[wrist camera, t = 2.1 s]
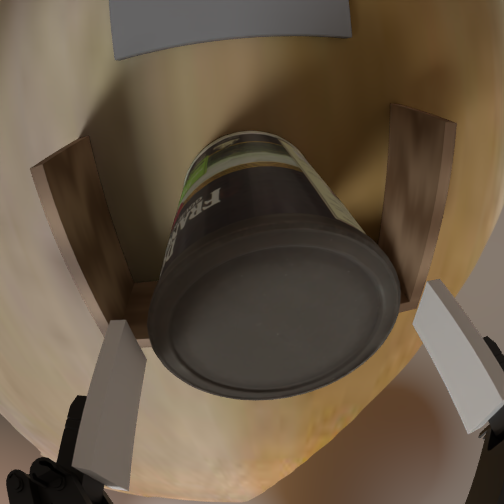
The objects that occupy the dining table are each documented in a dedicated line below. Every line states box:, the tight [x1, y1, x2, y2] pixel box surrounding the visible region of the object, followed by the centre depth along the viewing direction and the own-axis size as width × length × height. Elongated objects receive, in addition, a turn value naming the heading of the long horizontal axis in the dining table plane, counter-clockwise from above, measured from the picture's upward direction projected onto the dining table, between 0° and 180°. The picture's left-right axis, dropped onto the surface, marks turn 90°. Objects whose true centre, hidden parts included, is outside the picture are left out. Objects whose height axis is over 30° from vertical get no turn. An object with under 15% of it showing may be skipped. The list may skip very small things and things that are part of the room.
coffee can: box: [147, 131, 401, 400], centre depth 17 cm, size 10×10×14 cm
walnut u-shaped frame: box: [30, 104, 457, 348], centre depth 21 cm, size 15×25×7 cm, turn 95°
